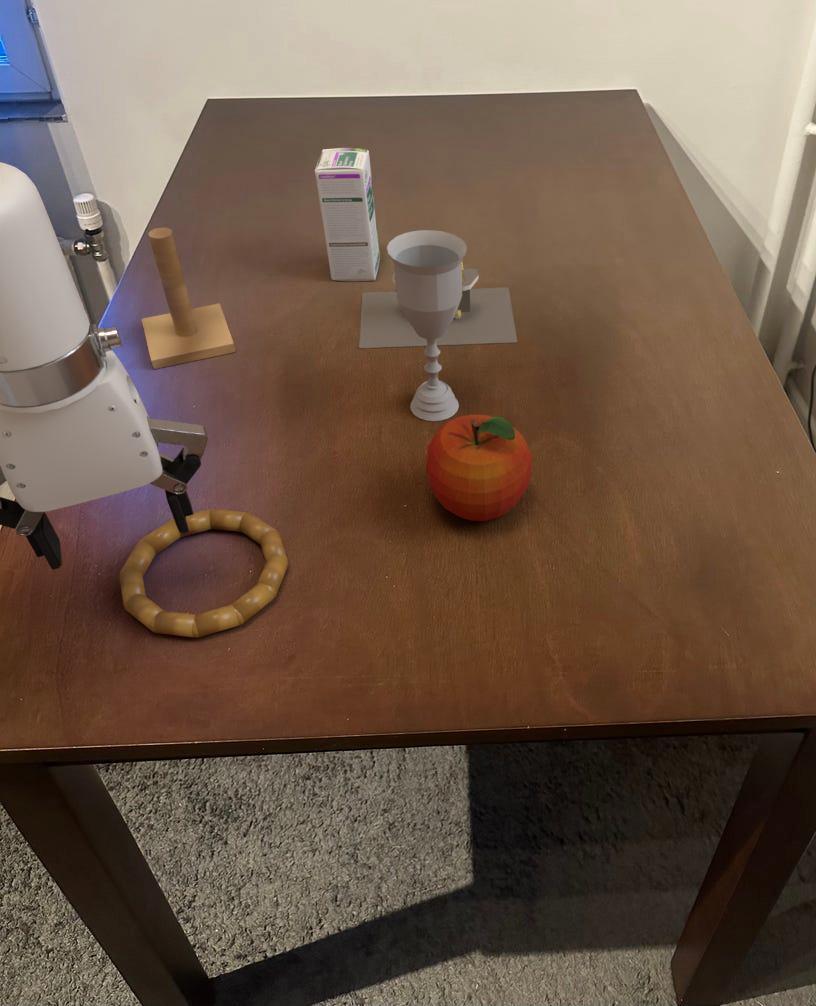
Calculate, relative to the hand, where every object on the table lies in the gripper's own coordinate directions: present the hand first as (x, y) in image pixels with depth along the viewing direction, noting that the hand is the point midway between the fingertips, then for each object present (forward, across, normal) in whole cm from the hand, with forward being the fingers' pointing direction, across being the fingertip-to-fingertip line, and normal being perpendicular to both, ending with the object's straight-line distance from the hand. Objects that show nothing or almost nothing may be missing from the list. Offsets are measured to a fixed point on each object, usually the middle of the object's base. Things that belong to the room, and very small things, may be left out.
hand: (120, 538), depth 70 cm
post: (+7, -9, -37) cm, 39 cm away
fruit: (+8, -30, 0) cm, 31 cm away
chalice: (+8, -31, -15) cm, 35 cm away
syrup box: (+8, -31, -45) cm, 55 cm away
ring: (+6, -5, 0) cm, 8 cm away
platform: (+8, -37, -31) cm, 49 cm away
